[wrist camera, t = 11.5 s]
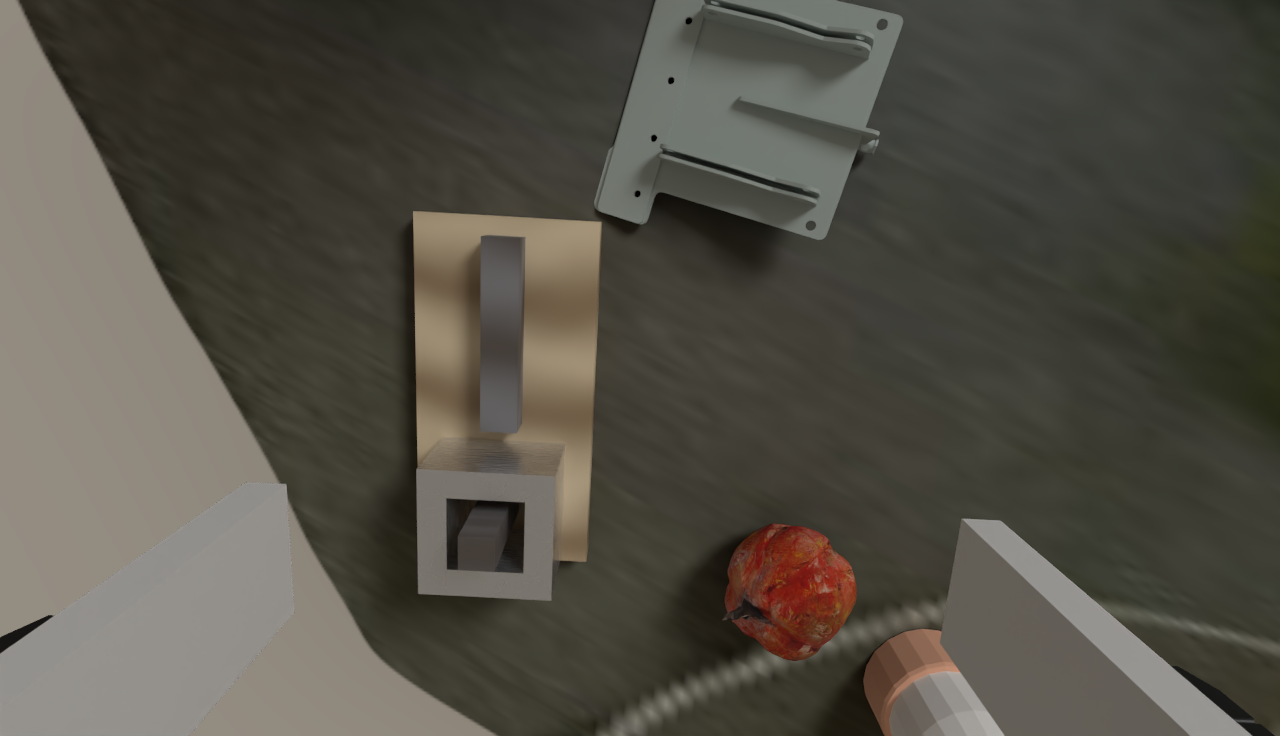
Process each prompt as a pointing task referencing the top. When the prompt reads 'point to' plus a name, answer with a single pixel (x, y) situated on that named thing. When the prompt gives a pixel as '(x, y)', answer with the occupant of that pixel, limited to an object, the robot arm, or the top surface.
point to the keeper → (508, 354)
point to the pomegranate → (789, 590)
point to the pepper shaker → (923, 690)
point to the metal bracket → (749, 109)
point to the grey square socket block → (491, 476)
